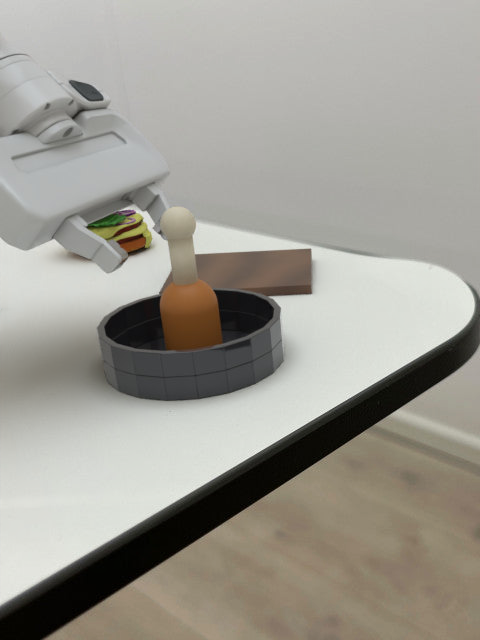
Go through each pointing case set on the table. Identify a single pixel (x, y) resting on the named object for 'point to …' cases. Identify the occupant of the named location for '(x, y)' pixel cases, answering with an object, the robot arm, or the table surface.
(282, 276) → the board
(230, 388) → the pan
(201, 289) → the drumstick
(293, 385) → the table surface
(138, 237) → the cheeseburger
